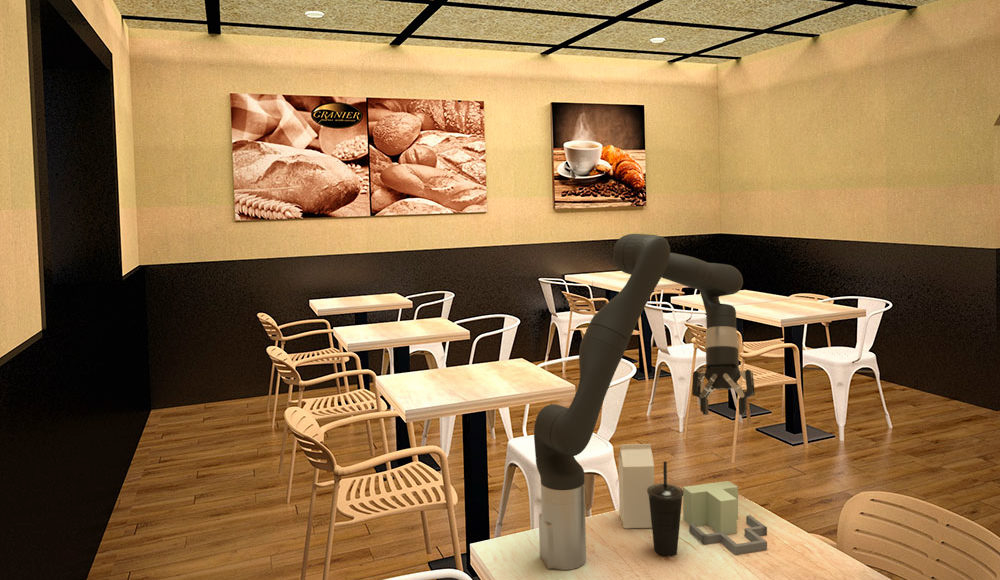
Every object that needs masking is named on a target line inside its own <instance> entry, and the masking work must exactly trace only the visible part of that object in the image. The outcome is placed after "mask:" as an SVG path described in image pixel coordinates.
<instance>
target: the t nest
mask: <svg viewBox="0 0 1000 580" xmlns="http://www.w3.org/2000/svg"><path fill="white" fill-rule="evenodd" d="M745 520H746V521H745V523H746V524H747V525H748V526H750V527H745V528H744V533H743V534H744V537H745V538H746V539H748V540H749V541H747V542H742V543H736V542H735V541H734V540H733V539H732V538H730V537H729V536H728V534H727V535H725V534H724V533H723V532H718V533H717V532H712V533H711V532H710V533H705V532H704V531H702V530H701V528H699V527H698V526H695V525H694V524H688V532H689V533H690V534H691V535H692V536H693V537H695V538H696V539H697V540H698V541H699V542H700V543H701V544H702V545H704V546H705V545H710V544H718V543H721V544H722V545H723V546H724V547H725V548H727V549H728V551H730V552H732V553H733V554H734V555H735V556H737V555H742V554H744V555H745V554H748V553H749V554H750V553H755V552H761V551H767V550H768V541H767V540H765V539H764V538H763V536H767V535H768V526H766V525H765V524H764V523H762V522H760V521H759V520H758V519H756V518H755V517H754V516H752V515H751V514H749V515H746V516H745Z"/></svg>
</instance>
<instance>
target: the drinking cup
mask: <svg viewBox="0 0 1000 580" xmlns="http://www.w3.org/2000/svg"><path fill="white" fill-rule="evenodd" d="M667 466H668V465H667V461H663V482H660V483H657V484H654V485H652V486H650V487H649V488H648V489H647V493H648V495H649V504H650V513H651V523H652V528H651V530H652V542H653V550H654V553H655V554H656V555H657V556H661V557H664V558H665V557H666V558H668V557H669V558H670V557H674V556H676V555H677V554H678V548H679V547H678V545H679V535H680V527H681V526H680V525H681V516H682V515H681V514H682V506H683V495H684V491H683V488H681V487H680V486H678V485H675V484H671V483H668V478H667V477H668V469H667V468H668V467H667Z"/></svg>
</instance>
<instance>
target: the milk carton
mask: <svg viewBox="0 0 1000 580" xmlns="http://www.w3.org/2000/svg"><path fill="white" fill-rule="evenodd" d="M619 447H620V448H619V449H620V450H619V453H618V490H619V491H618V494H619V495H618V498H619V499H618V502H619V503H618V505H619V518H620V520H621V523H622V526H623V529H652V523H651V513H650V504H649V495H648V493H647V489H648V488H649V487H650V486H652V485H655V462H654V457H653V452H652V444H651V443H637V444H636V443H634V444H633V443H631V444H630V443H629V444H628V443H627V444H620V446H619Z"/></svg>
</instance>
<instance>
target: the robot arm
mask: <svg viewBox="0 0 1000 580" xmlns="http://www.w3.org/2000/svg"><path fill="white" fill-rule="evenodd" d="M612 257H613V262H614V264H615V266H616V267H617V268H618V270H620V271H621V272H622V273H624V274H627V275H630V276H629V278H628V280H627V282H626V284H625V285H624V286H623V288H622V289H621V290H620V291H619V292H618V293H617V294H616V295H615V296H613V298H611V299H610V300H609V301H608V302H607V303H606V304H604V306H603V307H601V308H600V309H599V310H598V311H597V312H596V313H595V314H594V315H593V317H592V318H591V320H590V322H589V324H588V326H587V328H586V330H585V333H584V335H583V337H582V339H581V342H580V345H579V351H578V366H579V380H578V386H577V389H576V392H575V394H574V397H573V399H572V401H571V404H570V405H569V407H566V406H563V405H561V404H560V405H559V404H548V405H545V406H544V407H543V408H541V409H540V411H539V412H538V414H537V416H536V418H535V421H534V426H533V427H534V428H533V440H534V441H533V442H534V454H535V464H536V469H537V472H538V473H539V476H540V500H541V501H540V502H541V503H540V505H541V508H540V509H541V513H538V529H539V530H538V534H539V557H540V558H541V560H542V561H543V563H544V565H545V567H546V569H549V570H550V569H551V570H552V569H556V570H563V571H564V570H566V571H567V570H574V569H578V568H580V567H582V566H583V565H584V564H585V563H586V562H587V540H586V538H587V537H586V536H587V535H586V534H587V533H586V492H585V491H586V489H585V482H586V481H585V471H584V468H583V467H582V465H581V464H580V463H579V462H578V460H577V459H576V457H577V456H578V455H580V454H581V453H582V452H583V451H584V450H585V449H586V448H587V446H588V445H589V443H590V440H591V438H592V436H593V433H594V430H595V427H596V425H597V422H598V419H599V415H600V413H601V410H602V407H603V403H604V400H605V398H606V395H607V392H608V390H609V388H610V386H611V383H612V381H613V379H614V378H613V377H614V376H615V373H616V371H617V368H618V367H619V365H620V363H621V361H622V358H623V357H624V355H625V352H626V349H627V347H628V345H629V342H630V340H631V337H632V335H633V333H634V331H635V328H636V325H637V324H638V322H639V319H640V318H641V315H642V314H643V311H644V310H645V307H646V306H647V303H648V301H649V300H650V299H651V298H650V297H651V296H652V294H653V292H654V291H655V289H656V287H657V285H658V284H659V282H660V280H661V279H664V280H667V281H670V282H672V283H677V284H679V285H681V286H684V287H688V288H691V289H695V290H698V291H699V292H700V293H699V294H700V297H701V299H702V304H703V307H704V309H705V317H706V332H705V333H706V334H705V367H706V369H705V371H703V372H700V371H696V370H695V371H693V372H692V388H691V394H692V396H695V397H697V398H699V401H700V402H699V405H700V408H699V409H700V412H701V413H702V414H703V415H704V416H705V415H706V416H708V415H709V399H708V398H709V396H710V395H711V394H712V393H713V392H714V390H718V391H719V390H731V389H733V391H735V393H736V394H737V395H738V396H739V398H738V415H740V416H744V415H745V413H747V411H748V406H747V405H748V402H747V400H748V399H749V398H750V397H755V395H756V391H755V381H754V380H755V379H754V373H753V371H752V370H750V369H746V370H740V366H739V365H740V364H739V363H740V362H739V338H738V337H739V336H738V331H737V330H738V329H737V312H736V308H735V307H734V306H733V305H730V304H727V303H721V302H720V297H724V296H731V295H734V294H737V293H738V292H740V290H741V289H742V287H743V285H744V279H743V275H742V273H741V272H740V271H739V269H737V267H735V266H733V265H730V264H725V263H716V262H715V263H714V262H707V261H705V260H702V259H699V258H696V257H694V256H689V255H685V254H679V253H676V252H671V248H670V244H669V242H668V239H666V238H665V237H664V236H661V235H658V234H649V233H648V234H647V233H646V234H645V233H629V234H626V235H623V236H621V237H619V238H618V239H617V241H616V243H615V244H614V247H613V254H612ZM741 377H742V379H743V380H745V384H746V385H745V387H746V391H745V390H743V388H742V386H740V384H739V383H738V381H739V380H740V378H741ZM704 378H705V379H706V381H707V382H706V384H705V385H704V387H703V390H702V391H701V388H702V386H701V385H702V383H701V382H702V381H703V380H704ZM575 456H576V457H575Z"/></svg>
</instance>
